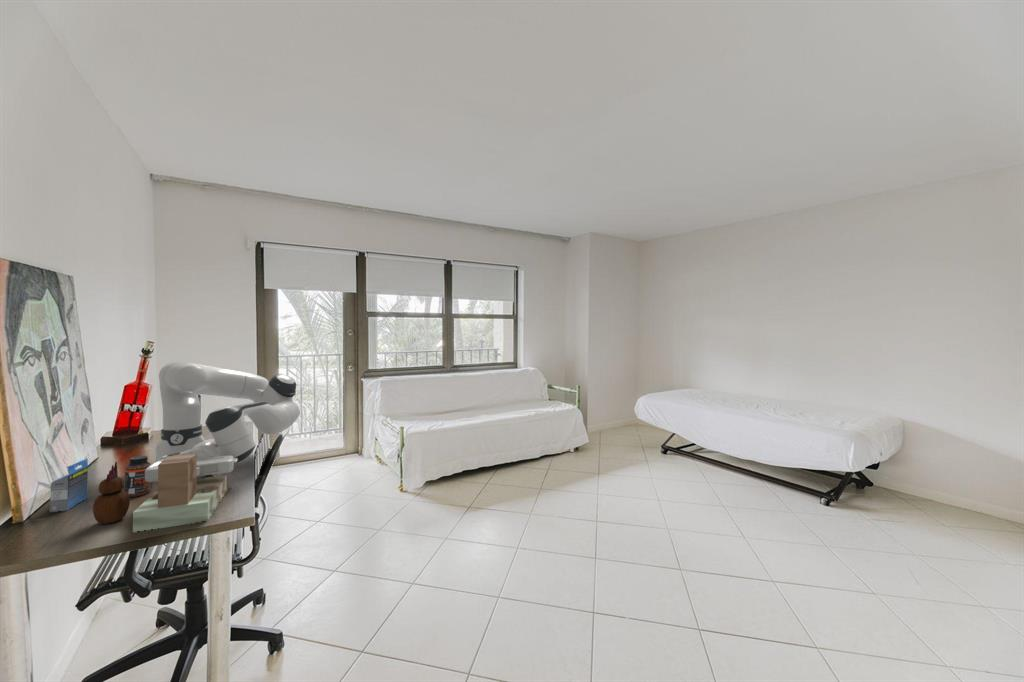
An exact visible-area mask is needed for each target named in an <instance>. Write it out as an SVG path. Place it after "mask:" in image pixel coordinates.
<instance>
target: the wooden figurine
mask: <svg viewBox="0 0 1024 682" xmlns="http://www.w3.org/2000/svg"><path fill="white" fill-rule="evenodd" d="M114 462H115V463H114V464H112V465H111V469H110V470H108V473H107V474H106V478H105V479H102V480H101V481H100V483H99V485H98V492H99V493H100V495H98V496H97V497H96V498H95V499H94V501H93V504H92V513H93V518H94V520H95V521H96V522H97V523H98V524H99V525H107V524H113V523H115V522H118V521H120V520H122V519H124V518H125V516H126V515H127V513H128V511H129V507H130V503H131V502H130V500H131V499H130V497H129V495H128V493H127V492H126V491H125V478H123V477H120V476H119V475H118V474H119V473H118V472H119V471H118V462H117V461H114Z"/></svg>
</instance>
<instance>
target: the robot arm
mask: <svg viewBox="0 0 1024 682" xmlns="http://www.w3.org/2000/svg"><path fill="white" fill-rule="evenodd" d="M158 379H159V390H160V399H161V405H162V429H160V439H161V441H160V442H159V443H157V444H156V445H155V451H154V452H155V453H154V462H153V463H151V465H150V466H149V467H148V468H146V470H145V481H146V482H151V483H153V482H158V464H160V463H161V462H162V461H163V460H165V459H166V458H167V457H169V456H176V455H187V454H197V477H196V478H201V477H204V476H206V475H213V476H214V475H218V474H221V475H222V474H228V473H231V472H233V471H234V467H235V466H234V465H235V464H237V463H240V462H242V461H244V460H245V459H246V458H249V457H250V455H251V454H252V453H253V452H254V450H255V448H256V446H257V445H256V443H255V441H254V438H253V436H252V434H251V432H250V429H249V427H248V425H247V422H246V420H245V416H246V417H248V418H249V419H250V420H251V421H252V423H253V424H254V426H255V428H256V429H257V430H258V431H259V432H260V433H263V434H265V435H270V436H273V435H274V436H275V435H278V434H280V433H282V432H285V431H286V430H287V429H288V428H290V427H291V426H292V425H294V423H295V422H296V421H297V420H298V419H299V417H300V414H301V409H300V407H299V405H298V404H297V403H296V402H294V401H293V398H294V396H297V395H296V394H297V391H296V390H297V383H296V381H295V379H294V378H293V377H291V376H289V375H286V374H276V375H273V376H272V377H271V379H269V380H268V379H267V378H266V377H263V376H261V375H258V374H254V373H251V372H246V371H242V370H241V371H240V370H234V369H228V368H223V367H218V366H212V365H207V364H199V363H194V362H188V361H181V360H179V361H178V360H177V361H172V362H169V363H167V364H165V365H164V366H163V367H162V368H161V369H160V370H159V374H158ZM199 395H208V396H217V397H224V398H233V399H241V400H242V399H243V400H249V401H253V402H249V403H245V404H240V405H230V406H229V405H228V406H223V407H219V408H217V409H215V410H213V411H211V412H210V413H209V414H208V415H207V418H206V420H205V422H204V424H205V426H206V428H207V429H208V430H209V432H210V433H211V436H212V438H209V439H205V437H204V436H203V424H202V423H201V421H202V420H201V414H202V413H201V408H202V407H201V406H202V405H201V402H200V399H199Z"/></svg>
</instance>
